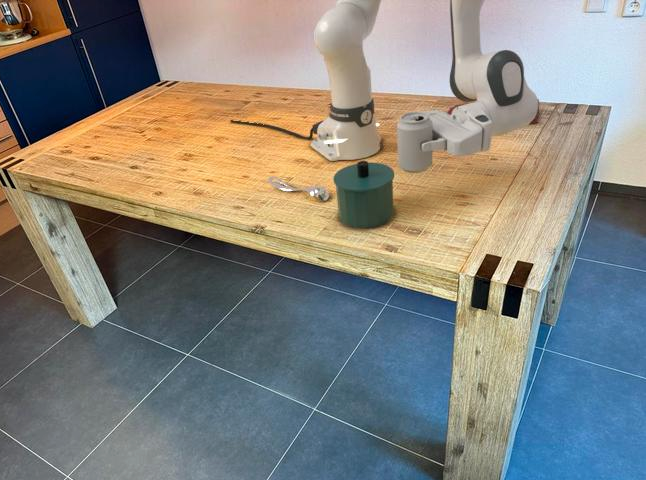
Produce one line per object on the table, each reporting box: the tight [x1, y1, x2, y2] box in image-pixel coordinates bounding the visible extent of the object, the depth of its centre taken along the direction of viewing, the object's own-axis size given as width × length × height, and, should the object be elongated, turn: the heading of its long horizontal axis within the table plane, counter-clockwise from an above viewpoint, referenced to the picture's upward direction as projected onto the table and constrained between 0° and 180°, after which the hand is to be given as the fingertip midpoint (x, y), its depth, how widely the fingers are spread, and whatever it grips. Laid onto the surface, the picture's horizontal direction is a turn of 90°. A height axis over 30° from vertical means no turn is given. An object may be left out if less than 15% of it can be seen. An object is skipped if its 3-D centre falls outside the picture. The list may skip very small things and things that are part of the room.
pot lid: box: [333, 160, 395, 192], centre depth 112 cm, size 13×13×4 cm
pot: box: [335, 179, 395, 229], centre depth 116 cm, size 12×12×10 cm
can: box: [396, 111, 433, 174], centre depth 112 cm, size 8×8×12 cm
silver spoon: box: [267, 176, 330, 201], centre depth 132 cm, size 20×4×5 cm
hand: (411, 140), depth 111 cm, fingers closed on can, 7 cm apart
